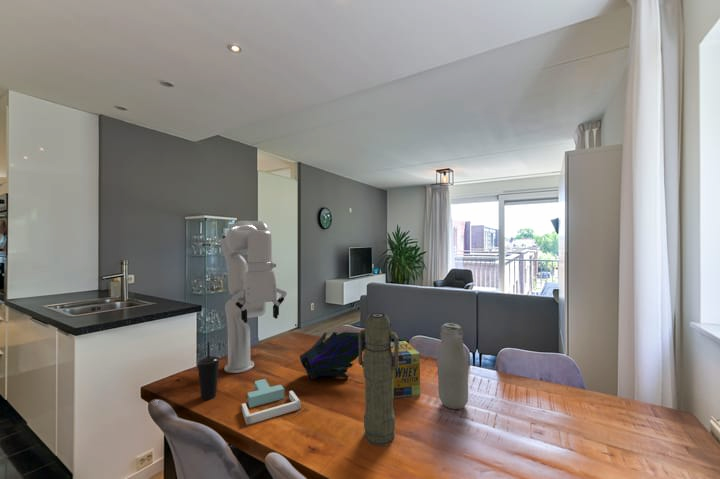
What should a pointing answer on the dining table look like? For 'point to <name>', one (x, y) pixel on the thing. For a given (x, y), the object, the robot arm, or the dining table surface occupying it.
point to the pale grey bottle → (452, 367)
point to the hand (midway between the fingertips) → (260, 319)
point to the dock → (271, 410)
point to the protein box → (406, 372)
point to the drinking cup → (208, 375)
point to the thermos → (378, 378)
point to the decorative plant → (332, 355)
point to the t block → (264, 393)
